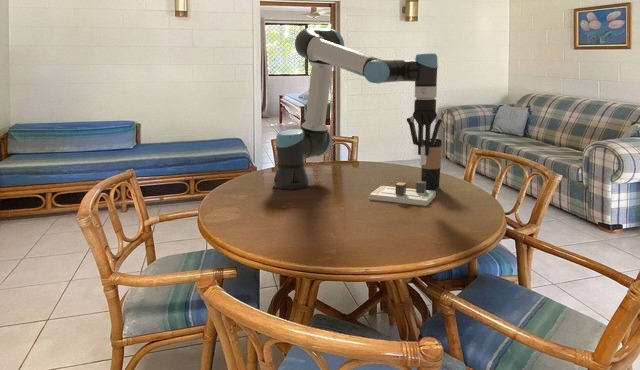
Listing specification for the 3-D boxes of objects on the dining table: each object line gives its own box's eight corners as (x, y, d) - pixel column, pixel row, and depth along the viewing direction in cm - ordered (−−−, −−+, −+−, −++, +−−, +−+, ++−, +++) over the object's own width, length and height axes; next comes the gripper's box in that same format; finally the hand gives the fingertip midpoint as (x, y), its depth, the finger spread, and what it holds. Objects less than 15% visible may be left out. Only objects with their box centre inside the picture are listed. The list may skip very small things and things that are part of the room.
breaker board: (369, 199, 186) (369, 184, 185) (381, 190, 198) (381, 176, 197) (426, 205, 177) (427, 190, 175) (435, 196, 189) (436, 181, 187)
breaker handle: (395, 194, 183) (395, 184, 182) (398, 192, 186) (398, 182, 185) (403, 195, 182) (403, 185, 181) (405, 192, 185) (406, 182, 184)
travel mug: (439, 190, 197) (442, 141, 192) (420, 189, 198) (422, 141, 194) (439, 185, 204) (441, 138, 199) (420, 185, 206) (422, 138, 201)
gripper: (404, 99, 171) (403, 164, 177) (441, 99, 166) (438, 167, 172) (410, 97, 178) (408, 161, 184) (446, 98, 172) (443, 163, 178)
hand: (423, 164), depth 178 cm, fingers closed
